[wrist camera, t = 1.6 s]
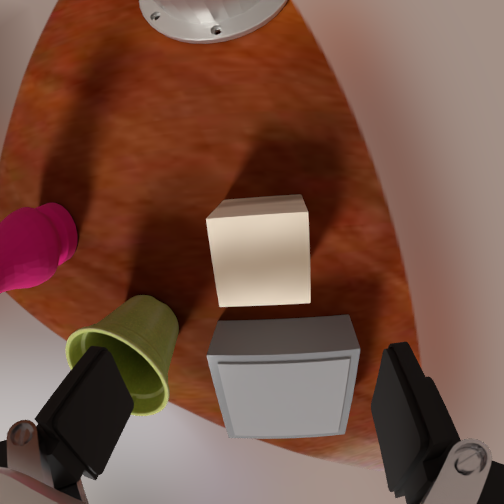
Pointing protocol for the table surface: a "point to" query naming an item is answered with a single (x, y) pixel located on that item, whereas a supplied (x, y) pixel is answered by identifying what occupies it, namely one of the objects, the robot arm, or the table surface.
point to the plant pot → (134, 348)
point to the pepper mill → (35, 245)
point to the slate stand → (284, 375)
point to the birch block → (261, 251)
